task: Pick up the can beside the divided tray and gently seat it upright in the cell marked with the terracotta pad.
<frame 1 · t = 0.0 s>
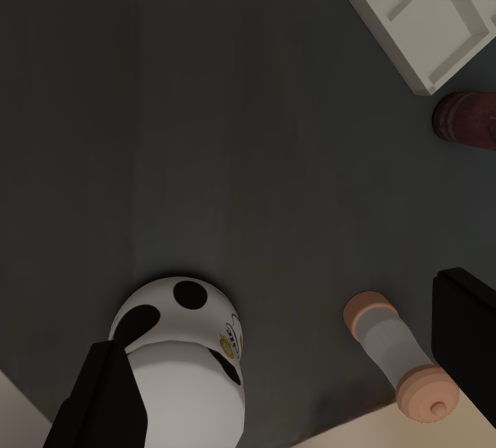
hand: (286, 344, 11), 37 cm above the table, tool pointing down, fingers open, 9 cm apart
milk container: (179, 320, 53), on the table
pepper shaker: (365, 310, 57), on the table
can: (451, 116, 48), on the table
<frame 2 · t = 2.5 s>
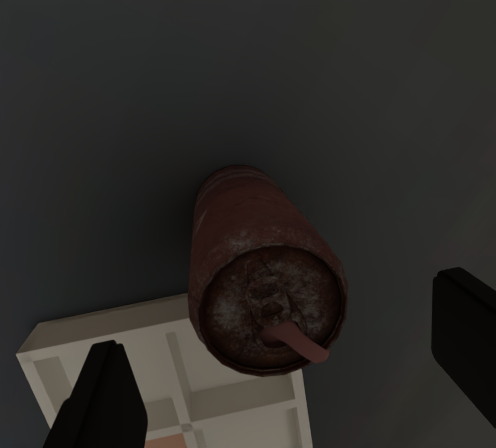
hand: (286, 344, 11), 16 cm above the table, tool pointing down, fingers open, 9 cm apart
divided tray: (188, 392, 31), on the table
can: (239, 207, 26), on the table
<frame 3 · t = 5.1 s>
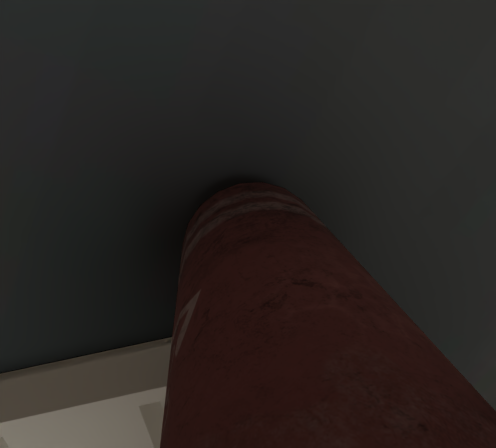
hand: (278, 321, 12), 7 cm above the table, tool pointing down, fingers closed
can: (252, 244, 17), point 1 cm above the table, touching gripper
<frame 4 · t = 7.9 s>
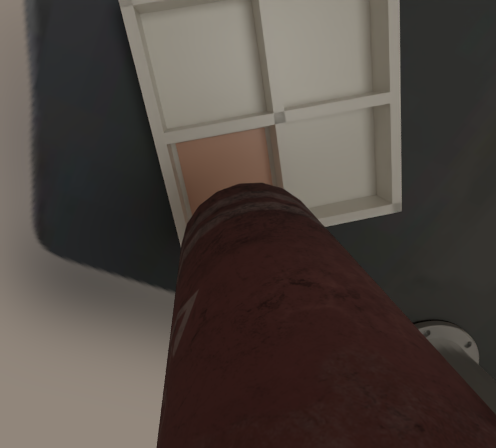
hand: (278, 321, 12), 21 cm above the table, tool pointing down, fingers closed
divided tray: (270, 114, 30), on the table
can: (251, 244, 17), point 15 cm above the table, touching gripper
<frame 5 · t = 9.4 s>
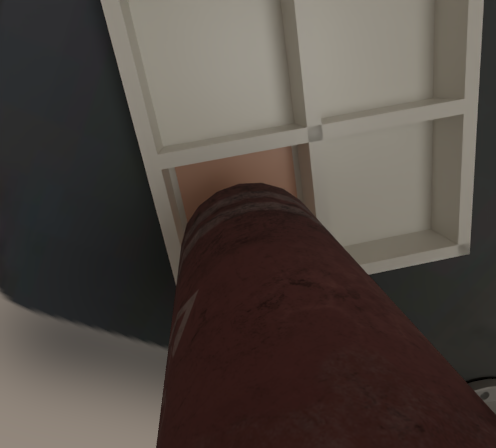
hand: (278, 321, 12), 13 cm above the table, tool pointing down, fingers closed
divided tray: (299, 127, 23), on the table
can: (251, 244, 17), point 7 cm above the table, touching gripper
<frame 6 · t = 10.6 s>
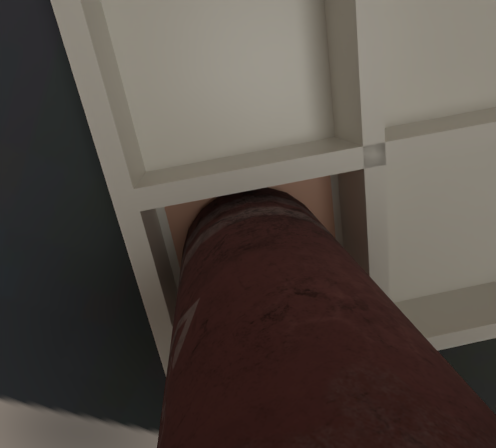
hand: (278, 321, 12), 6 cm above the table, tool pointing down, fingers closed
divided tray: (339, 142, 16), on the table
can: (254, 249, 17), point 1 cm above the table, touching divided tray
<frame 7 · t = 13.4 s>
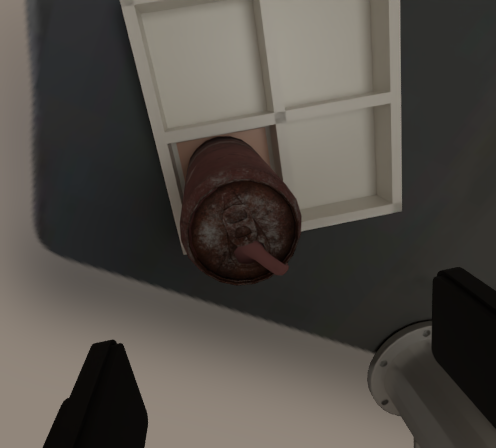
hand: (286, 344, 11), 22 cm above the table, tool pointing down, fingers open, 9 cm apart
divided tray: (271, 114, 30), on the table
can: (226, 173, 31), point 1 cm above the table, touching divided tray
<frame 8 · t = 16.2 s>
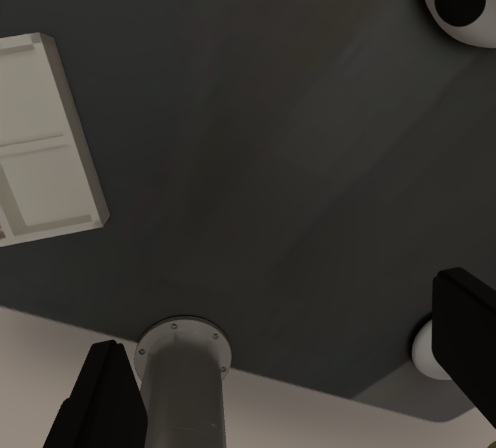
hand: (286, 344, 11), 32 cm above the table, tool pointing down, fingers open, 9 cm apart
flower in vase: (436, 339, 54), on the table
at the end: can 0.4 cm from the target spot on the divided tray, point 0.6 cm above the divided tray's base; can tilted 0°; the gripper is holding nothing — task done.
